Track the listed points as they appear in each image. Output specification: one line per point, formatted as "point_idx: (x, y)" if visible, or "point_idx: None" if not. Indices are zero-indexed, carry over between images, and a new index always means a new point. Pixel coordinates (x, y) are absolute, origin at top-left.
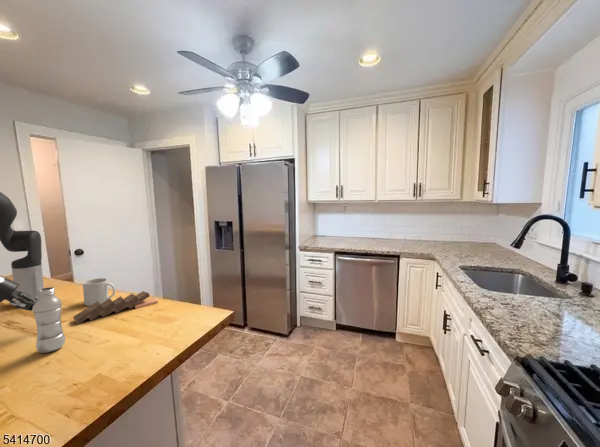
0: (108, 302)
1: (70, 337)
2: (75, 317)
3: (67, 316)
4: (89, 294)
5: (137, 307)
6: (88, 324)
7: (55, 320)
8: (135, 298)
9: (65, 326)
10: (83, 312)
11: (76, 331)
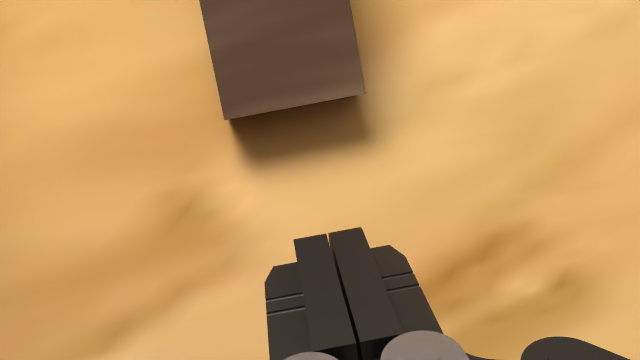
0: None
1: (633, 118)
2: (281, 91)
3: (54, 202)
4: None
5: None
6: (409, 23)
7: None
8: None
9: (341, 185)
10: (269, 10)
11: (522, 91)
